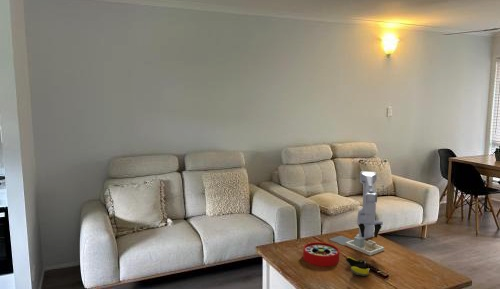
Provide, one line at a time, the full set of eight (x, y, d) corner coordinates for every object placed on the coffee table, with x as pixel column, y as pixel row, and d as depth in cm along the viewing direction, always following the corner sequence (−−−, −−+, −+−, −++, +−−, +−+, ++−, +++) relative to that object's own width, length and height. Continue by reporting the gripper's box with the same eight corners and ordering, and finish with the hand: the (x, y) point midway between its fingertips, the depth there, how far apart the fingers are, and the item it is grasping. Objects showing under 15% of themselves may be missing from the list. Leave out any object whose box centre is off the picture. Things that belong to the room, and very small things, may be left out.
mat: (341, 236, 246) (341, 235, 246) (355, 242, 236) (356, 241, 236) (328, 240, 239) (328, 239, 239) (343, 246, 229) (343, 245, 229)
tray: (345, 246, 229) (345, 242, 229) (359, 241, 237) (359, 237, 237) (370, 256, 215) (370, 252, 215) (383, 251, 222) (384, 247, 222)
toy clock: (322, 259, 197) (295, 247, 213) (322, 270, 198) (295, 257, 214) (346, 250, 209) (320, 239, 225) (346, 260, 210) (319, 249, 225)
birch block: (369, 247, 226) (369, 239, 225) (375, 250, 222) (376, 242, 222) (364, 249, 223) (364, 241, 223) (370, 252, 220) (371, 243, 219)
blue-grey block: (358, 243, 232) (358, 235, 232) (364, 246, 229) (364, 238, 228) (353, 245, 230) (354, 237, 229) (359, 247, 226) (360, 239, 225)
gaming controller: (351, 278, 189) (371, 279, 188) (351, 268, 188) (371, 268, 188) (345, 265, 204) (363, 265, 203) (345, 255, 203) (364, 256, 203)
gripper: (360, 214, 212) (359, 238, 212) (385, 215, 213) (384, 239, 213) (356, 212, 219) (355, 235, 220) (380, 212, 220) (379, 235, 220)
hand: (369, 237), depth 217 cm, fingers open, 7 cm apart
